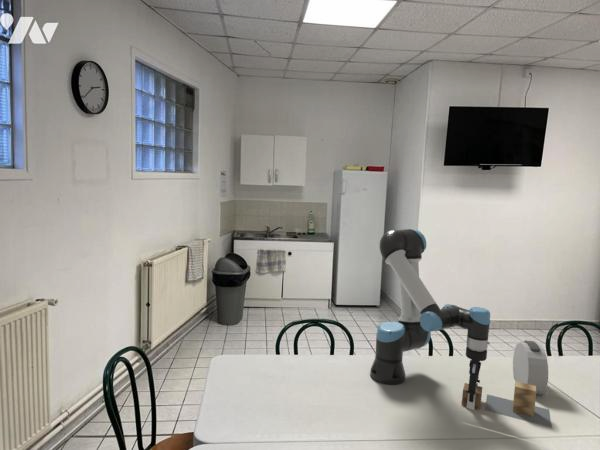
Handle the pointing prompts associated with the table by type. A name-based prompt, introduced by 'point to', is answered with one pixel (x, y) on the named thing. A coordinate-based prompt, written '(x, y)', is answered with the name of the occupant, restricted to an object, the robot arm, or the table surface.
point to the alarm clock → (531, 365)
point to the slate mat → (506, 409)
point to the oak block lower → (523, 407)
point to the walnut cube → (477, 398)
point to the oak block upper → (525, 392)
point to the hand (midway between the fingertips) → (471, 403)
